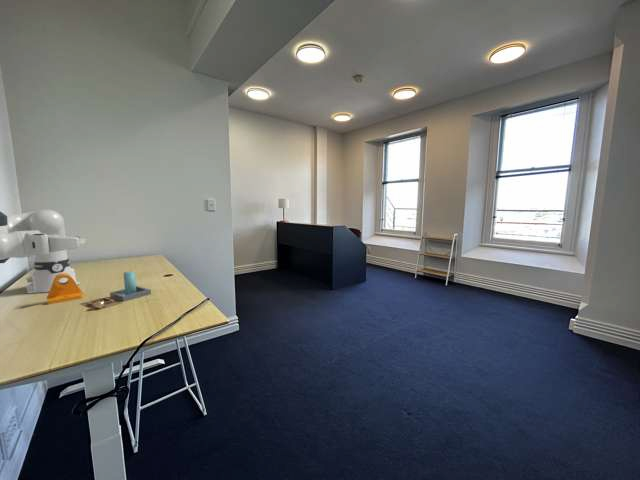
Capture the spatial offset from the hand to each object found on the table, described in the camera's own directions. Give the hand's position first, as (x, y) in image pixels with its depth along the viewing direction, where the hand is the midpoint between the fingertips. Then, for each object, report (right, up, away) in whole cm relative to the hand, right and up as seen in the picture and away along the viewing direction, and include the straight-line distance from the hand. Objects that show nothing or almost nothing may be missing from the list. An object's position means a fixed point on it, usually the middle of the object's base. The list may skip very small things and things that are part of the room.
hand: (84, 239), depth 99 cm
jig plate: (+1, -27, +6) cm, 28 cm away
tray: (+6, -26, +16) cm, 31 cm away
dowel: (+6, -25, +16) cm, 31 cm away
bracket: (-18, -27, +11) cm, 34 cm away
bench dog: (+5, -27, +1) cm, 27 cm away
